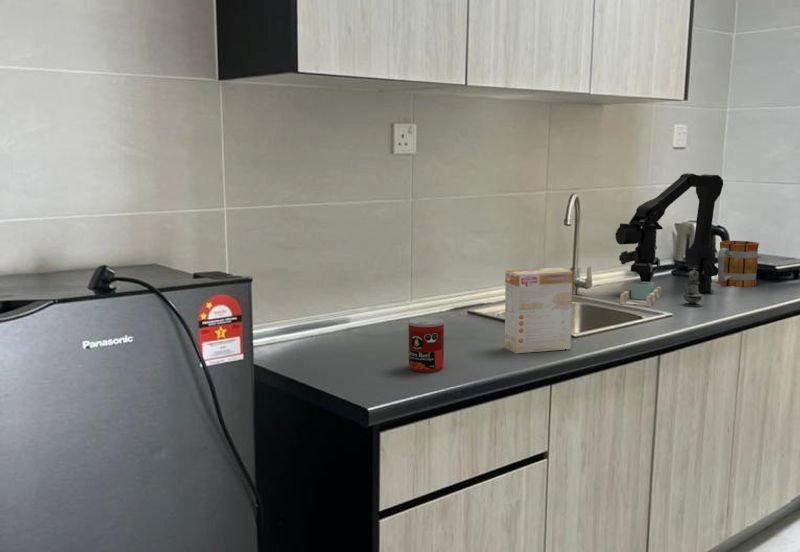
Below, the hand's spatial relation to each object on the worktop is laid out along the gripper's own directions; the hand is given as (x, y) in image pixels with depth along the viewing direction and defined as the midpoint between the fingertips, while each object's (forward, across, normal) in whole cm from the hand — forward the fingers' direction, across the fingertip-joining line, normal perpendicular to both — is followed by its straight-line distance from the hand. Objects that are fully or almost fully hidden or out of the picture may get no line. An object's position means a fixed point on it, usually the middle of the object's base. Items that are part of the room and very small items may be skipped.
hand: (644, 290), depth 260 cm
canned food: (+2, +110, -27) cm, 113 cm away
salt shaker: (+2, +9, +16) cm, 19 cm away
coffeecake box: (+2, +82, -10) cm, 83 cm away
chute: (+2, +7, 0) cm, 7 cm away
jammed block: (+2, +5, 0) cm, 5 cm away
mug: (+2, -36, +24) cm, 44 cm away
